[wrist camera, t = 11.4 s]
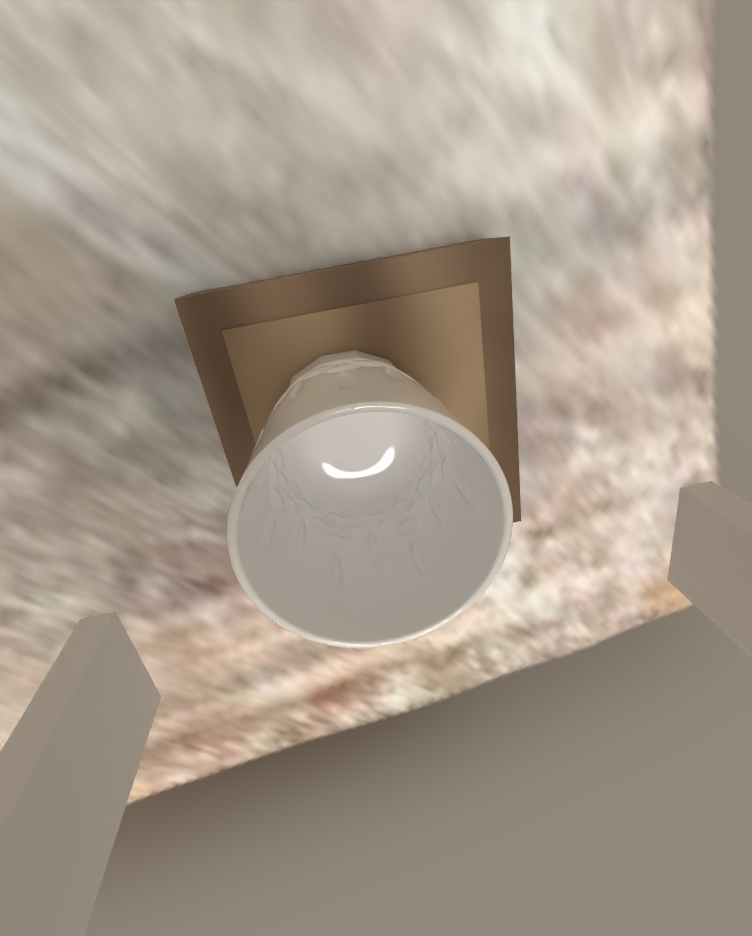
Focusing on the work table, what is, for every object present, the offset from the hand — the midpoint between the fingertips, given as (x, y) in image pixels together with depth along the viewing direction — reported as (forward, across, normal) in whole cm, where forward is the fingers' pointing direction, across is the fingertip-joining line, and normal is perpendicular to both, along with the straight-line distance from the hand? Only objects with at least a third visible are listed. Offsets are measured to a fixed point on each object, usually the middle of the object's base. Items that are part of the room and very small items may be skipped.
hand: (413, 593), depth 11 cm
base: (+15, +1, 0) cm, 15 cm away
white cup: (+12, 0, 0) cm, 12 cm away
